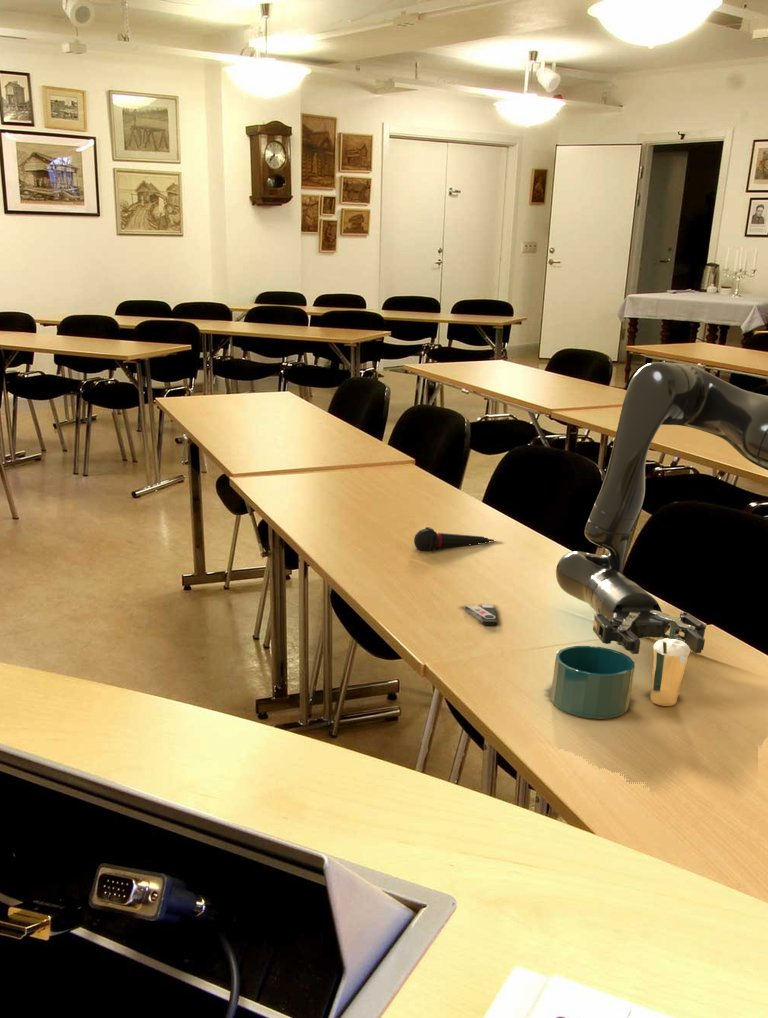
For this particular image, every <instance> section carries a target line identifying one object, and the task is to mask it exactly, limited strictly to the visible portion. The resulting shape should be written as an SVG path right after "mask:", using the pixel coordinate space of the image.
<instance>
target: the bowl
mask: <svg viewBox="0 0 768 1018" xmlns="http://www.w3.org/2000/svg"><path fill="white" fill-rule="evenodd" d="M635 669H636V666H635V661H634V660H633V659H632V658H631V657H630V656H629V655H627V654H625V653H623V652H621V651H618V650H615V649H612V648H608V647H604V646H603V647H601V646H595V645H574V646H567V647H565V648H562V649H559V651H557V652H556V653H555V659H554V666H553V675H552V676H553V677H552V683H551V684H552V685H551V691H550V692H551V693H550V701H551V703H552V704H553V705H554V706H555V707H556V708H558V709H559V710H561V711H562V712H565V713H567V714H570V715H573V716H578V717H582V718H585V719H586V718H587V719H599V720H600V719H601V720H602V719H603V720H604V719H612V718H617V717H620V716H622V715H624V714H625V713H627V711H628V709H629V706H630V702H631V701H630V699H631V693H632V687H633V680H634V673H635Z"/></svg>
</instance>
